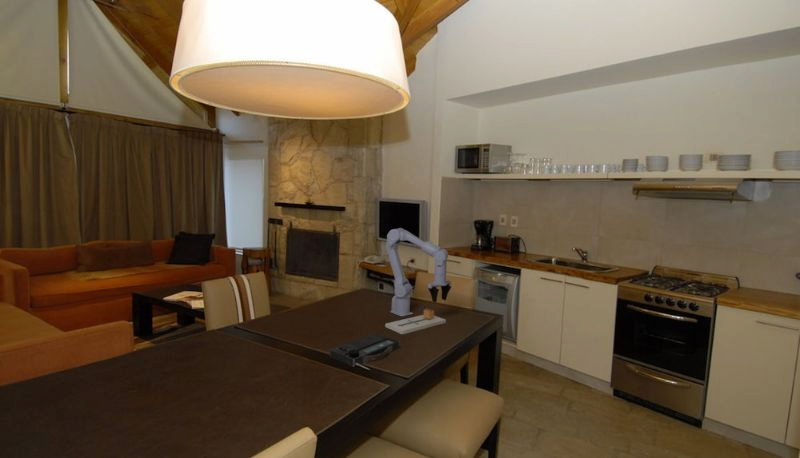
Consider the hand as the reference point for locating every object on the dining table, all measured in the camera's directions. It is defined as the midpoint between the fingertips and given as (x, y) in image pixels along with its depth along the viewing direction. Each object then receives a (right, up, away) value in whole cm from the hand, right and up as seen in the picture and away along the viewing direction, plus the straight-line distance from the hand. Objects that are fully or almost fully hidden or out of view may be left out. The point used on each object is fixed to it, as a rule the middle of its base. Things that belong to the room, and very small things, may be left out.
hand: (439, 300), depth 200 cm
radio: (-30, -13, -45) cm, 56 cm away
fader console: (-12, -10, -9) cm, 18 cm away
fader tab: (-6, -8, -4) cm, 10 cm away
